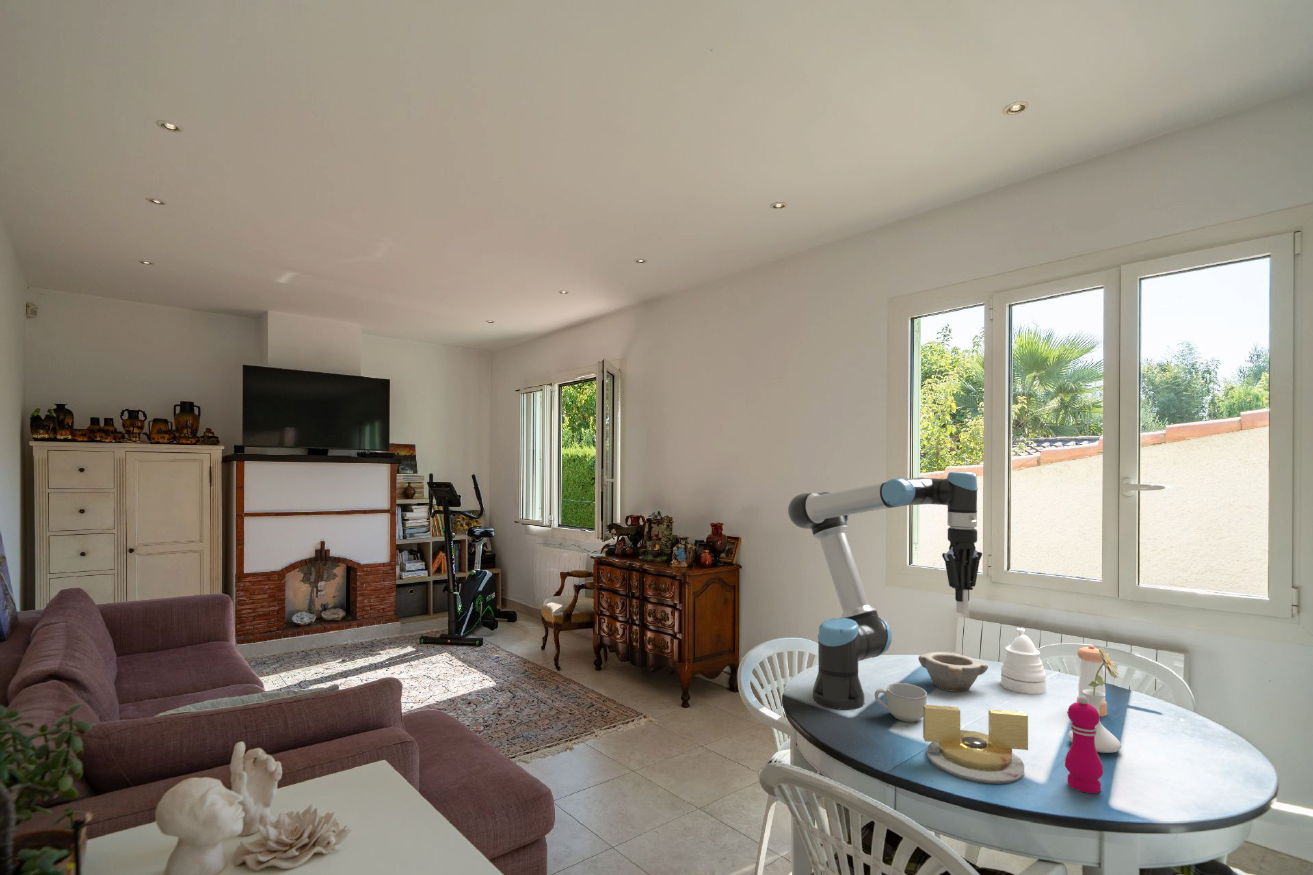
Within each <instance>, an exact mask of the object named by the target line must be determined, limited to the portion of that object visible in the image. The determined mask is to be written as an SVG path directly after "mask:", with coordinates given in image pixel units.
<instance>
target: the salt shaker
mask: <svg viewBox="0 0 1313 875" xmlns="http://www.w3.org/2000/svg"><path fill="white" fill-rule="evenodd" d="M1076 654H1077V656H1078V658H1079V659H1080V675H1079V680H1078V696H1077V697H1076V702H1079V697H1081V696H1084V697H1086V696H1085V695H1084V693H1083V692H1082V691H1083V690H1094V687H1092V686H1089V685H1088V684H1090V683H1091V682H1092V681H1094V682H1095V677H1096V673H1097V671H1098V669H1099V668H1100V666H1101V665H1102V663H1103V662H1102V660H1101V657H1100V654H1099V648H1097V647H1095V646H1094V645H1092V644H1090V645H1088V646H1084V647H1080V648H1079V649H1078V650H1077V653H1076ZM1098 675H1099V676H1101V677H1102V679H1103V681H1104V682H1105V680H1104V665H1103V666H1102V668H1101V669H1100V671H1099V673H1098ZM1096 683H1097V684H1099V683H1098V682H1097V680H1096ZM1095 690H1096V691H1100V692H1102V693H1104V694H1105V695H1106V685H1105V683H1104V684H1103V685H1102V686H1101V685H1099V686H1096V687H1095ZM1087 704H1088V703H1087ZM1107 715H1108V702H1107V701H1106V696H1105V697H1104V698H1103V699H1102V701H1101V704H1100V709H1099V717H1106V716H1107Z"/></svg>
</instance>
